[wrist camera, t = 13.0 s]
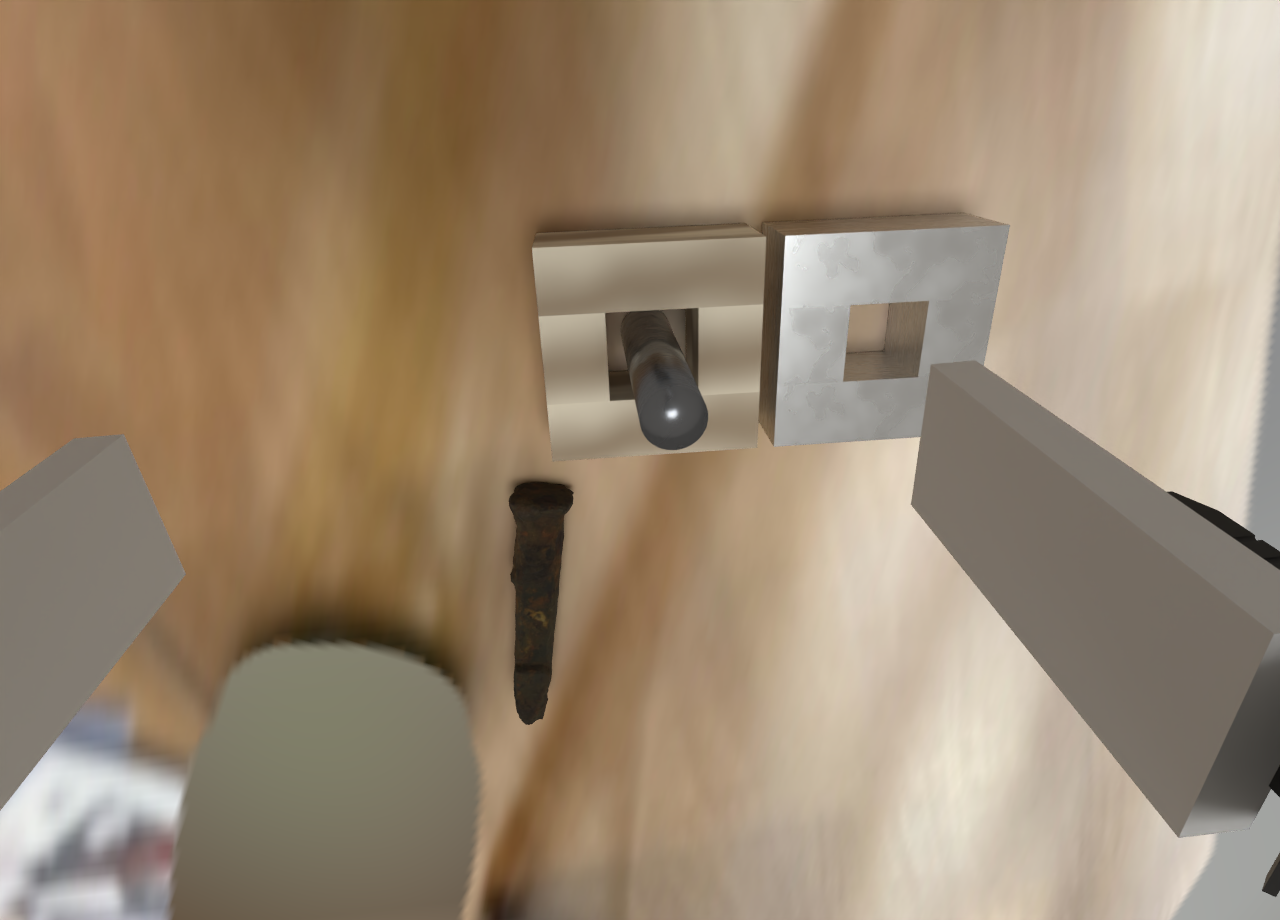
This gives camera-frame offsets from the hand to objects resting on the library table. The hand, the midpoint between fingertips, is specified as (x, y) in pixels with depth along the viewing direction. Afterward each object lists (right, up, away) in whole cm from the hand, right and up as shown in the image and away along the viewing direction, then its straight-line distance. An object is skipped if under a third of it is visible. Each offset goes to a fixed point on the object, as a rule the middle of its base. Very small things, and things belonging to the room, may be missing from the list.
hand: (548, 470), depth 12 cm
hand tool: (-5, -9, +40) cm, 41 cm away
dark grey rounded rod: (+2, +8, +31) cm, 33 cm away
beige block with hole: (+2, +8, +31) cm, 33 cm away
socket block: (+15, +9, +32) cm, 37 cm away
